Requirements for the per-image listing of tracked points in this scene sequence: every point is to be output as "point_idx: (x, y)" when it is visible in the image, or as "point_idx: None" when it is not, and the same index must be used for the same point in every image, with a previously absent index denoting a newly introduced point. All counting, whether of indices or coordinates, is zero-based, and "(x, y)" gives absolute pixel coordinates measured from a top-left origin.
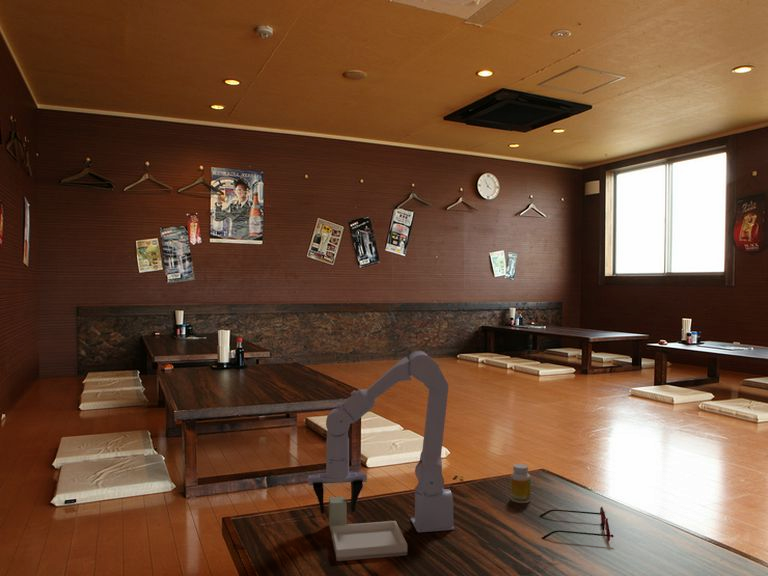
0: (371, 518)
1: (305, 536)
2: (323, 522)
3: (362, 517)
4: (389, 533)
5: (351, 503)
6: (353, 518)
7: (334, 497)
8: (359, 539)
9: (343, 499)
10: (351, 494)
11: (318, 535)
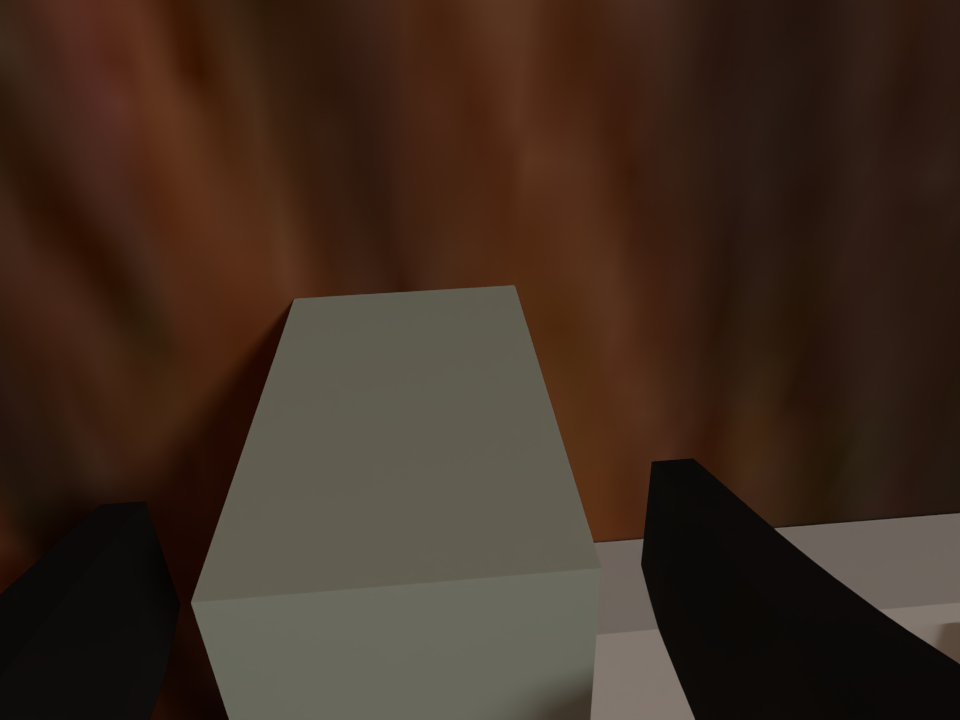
0: (928, 152)
1: (42, 555)
2: (200, 207)
3: (816, 95)
4: (919, 631)
5: (689, 601)
6: (672, 115)
7: (335, 598)
8: (608, 709)
9: (545, 698)
10: (780, 669)
11: (192, 544)
